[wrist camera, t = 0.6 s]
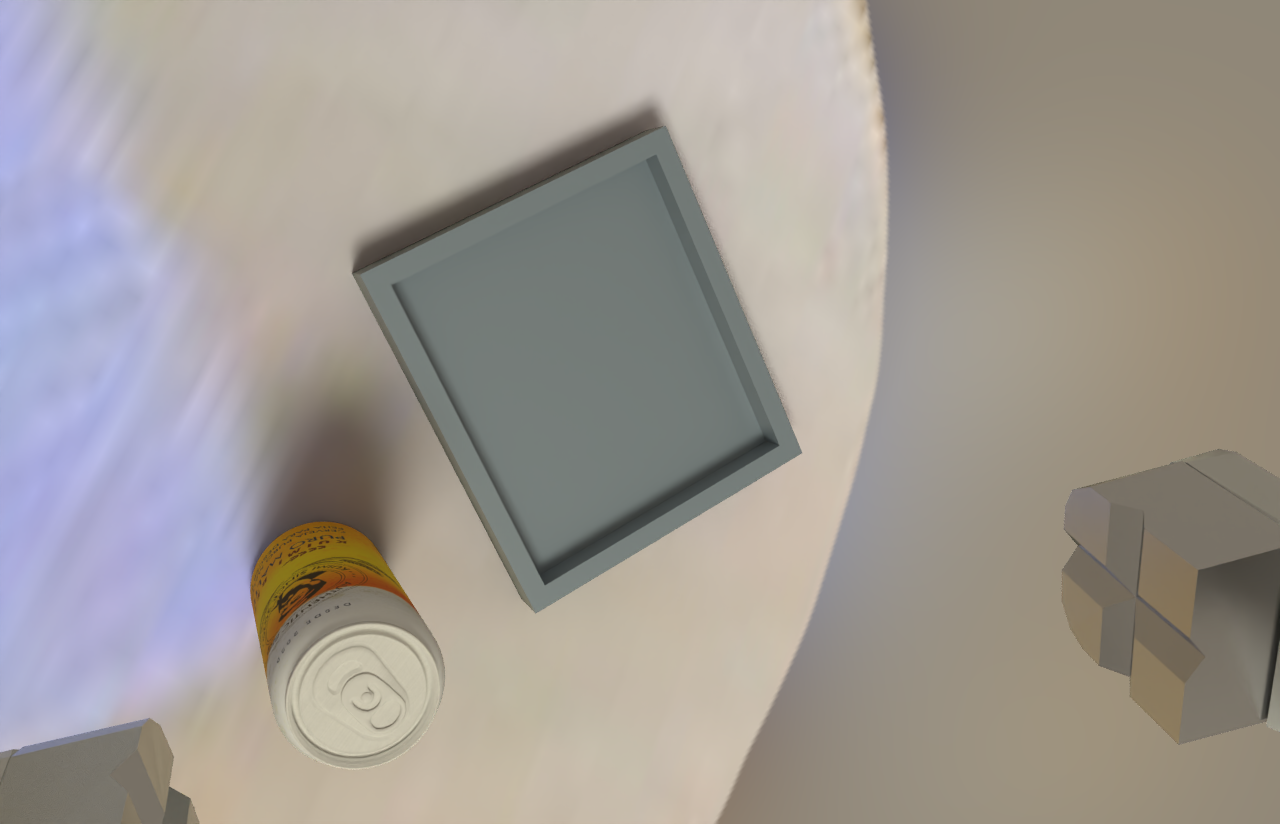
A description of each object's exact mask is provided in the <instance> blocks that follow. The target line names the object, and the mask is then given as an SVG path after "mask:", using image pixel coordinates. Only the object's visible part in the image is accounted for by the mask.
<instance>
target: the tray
mask: <svg viewBox="0 0 1280 824" xmlns="http://www.w3.org/2000/svg"><path fill="white" fill-rule="evenodd" d="M352 274H353V276H354V278H355V280H356V282H357V284H358V286H359V288H360V290H361V291H362V293H363V295H364V297H365V299H366V301H367V303H368V305H369V307H370V309H371V311H372V313H373V315H374V316H375V318H376V320H377V322H378V324H379V326H380V328H381V330H382V332H383V334H384V336H385V338H386V340H387V341H388V343H389V345H390V347H391V349H392V351H393V353H394V355H395V357H396V359H397V361H398V363H399V364H400V366H401V368H402V370H403V372H404V374H405V376H406V378H407V380H408V382H409V384H410V386H411V388H412V389H413V391H414V393H415V395H416V397H417V399H418V401H419V403H420V405H421V407H422V409H423V411H424V412H425V414H426V416H427V418H428V420H429V422H430V424H431V426H432V428H433V430H434V432H435V434H436V436H437V437H438V439H439V441H440V443H441V445H442V447H443V449H444V451H445V453H446V455H447V457H448V459H449V460H450V462H451V464H452V466H453V468H454V470H455V472H456V474H457V476H458V478H459V480H460V482H461V484H462V485H463V487H464V489H465V491H466V493H467V495H468V497H469V499H470V501H471V503H472V505H473V507H474V508H475V510H476V512H477V514H478V516H479V518H480V520H481V522H482V524H483V526H484V528H485V530H486V532H487V533H488V535H489V537H490V539H491V541H492V543H493V545H494V547H495V549H496V551H497V553H498V555H499V557H500V558H501V560H502V562H503V564H504V566H505V568H506V570H507V572H508V574H509V576H510V578H511V580H512V581H513V583H514V585H515V587H516V589H517V591H518V593H519V595H520V597H521V599H522V600H523V601H524V602H525V603H526V604H527V605H528V606H529V607H530V608H531V609H532V610H533V611H534V612H535V613H537V612H539V611H541V610H542V609H544V608H546V607H547V606H549V605H551V604H552V603H554V602H556V601H557V600H559V599H561V598H562V597H564V596H566V595H567V594H569V593H571V592H572V591H574V590H575V589H577V588H579V587H580V586H582V585H584V584H585V583H587V582H589V581H590V580H592V579H594V578H595V577H597V576H599V575H600V574H602V573H604V572H605V571H607V570H609V569H610V568H612V567H614V566H615V565H617V564H619V563H620V562H622V561H624V560H625V559H627V558H629V557H630V556H632V555H634V554H635V553H637V552H639V551H640V550H642V549H644V548H645V547H647V546H649V545H650V544H652V543H654V542H655V541H657V540H659V539H660V538H662V537H664V536H665V535H667V534H669V533H670V532H672V531H673V530H675V529H677V528H678V527H680V526H682V525H683V524H685V523H687V522H688V521H690V520H692V519H693V518H695V517H697V516H698V515H700V514H702V513H703V512H705V511H707V510H708V509H710V508H712V507H713V506H715V505H717V504H718V503H720V502H722V501H723V500H725V499H727V498H728V497H730V496H732V495H733V494H735V493H737V492H738V491H740V490H742V489H743V488H745V487H747V486H748V485H750V484H752V483H753V482H755V481H757V480H758V479H760V478H762V477H763V476H765V475H767V474H768V473H770V472H771V471H773V470H775V469H776V468H778V467H780V466H781V465H783V464H785V463H786V462H788V461H790V460H791V459H793V458H795V457H796V456H798V455H800V454H801V453H802V451H801V449H800V446H799V444H798V442H797V439H796V437H795V434H794V432H793V430H792V427H791V425H790V422H789V420H788V418H787V415H786V413H785V410H784V408H783V406H782V403H781V401H780V398H779V396H778V394H777V391H776V389H775V387H774V384H773V382H772V379H771V377H770V375H769V372H768V370H767V367H766V365H765V363H764V360H763V358H762V355H761V353H760V351H759V348H758V346H757V343H756V341H755V339H754V336H753V334H752V331H751V329H750V327H749V324H748V322H747V320H746V317H745V315H744V312H743V310H742V308H741V305H740V303H739V300H738V298H737V296H736V293H735V291H734V288H733V286H732V284H731V281H730V279H729V276H728V274H727V272H726V269H725V267H724V264H723V262H722V260H721V257H720V255H719V253H718V250H717V248H716V245H715V243H714V241H713V238H712V236H711V233H710V231H709V229H708V226H707V224H706V221H705V219H704V217H703V214H702V212H701V209H700V207H699V205H698V202H697V200H696V197H695V195H694V193H693V190H692V188H691V185H690V183H689V181H688V178H687V176H686V174H685V171H684V169H683V166H682V164H681V162H680V159H679V157H678V154H677V152H676V150H675V147H674V145H673V142H672V140H671V138H670V135H669V133H668V130H667V128H666V126H663V127H659V128H655V129H651V130H647V131H645V132H642V133H640V134H638V135H636V136H634V137H632V138H630V139H628V140H626V141H624V142H622V143H620V144H618V145H616V146H614V147H612V148H610V149H607V150H605V151H603V152H601V153H599V154H597V155H595V156H593V157H591V158H589V159H587V160H585V161H583V162H581V163H579V164H577V165H575V166H572V167H570V168H568V169H566V170H564V171H562V172H560V173H558V174H556V175H554V176H552V177H550V178H548V179H546V180H544V181H542V182H540V183H537V184H535V185H533V186H531V187H529V188H527V189H525V190H523V191H521V192H519V193H517V194H515V195H513V196H511V197H509V198H507V199H505V200H502V201H500V202H498V203H496V204H494V205H492V206H490V207H488V208H486V209H484V210H482V211H480V212H478V213H476V214H474V215H472V216H470V217H467V218H465V219H463V220H461V221H459V222H457V223H455V224H453V225H451V226H449V227H447V228H445V229H443V230H441V231H439V232H437V233H435V234H432V235H430V236H428V237H426V238H424V239H422V240H420V241H418V242H416V243H414V244H412V245H410V246H408V247H406V248H404V249H402V250H400V251H397V252H395V253H393V254H391V255H389V256H387V257H385V258H383V259H381V260H379V261H377V262H375V263H373V264H371V265H369V266H367V267H365V268H362V269H360V270H358V271H356V272H354V273H352Z"/></svg>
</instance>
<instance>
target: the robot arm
mask: <svg viewBox="0 0 1280 824" xmlns="http://www.w3.org/2000/svg"><path fill="white" fill-rule="evenodd" d="M1064 530H1065V531H1066V533H1067V534H1068V535H1069V536H1070V537H1071V538H1072V540H1073V541H1074V542H1075V543H1076V544H1077V545H1078V546H1077V548H1076V549H1075V551H1074V552H1073V554H1072V556H1071V557H1070V559H1069V560H1068V562H1067V563H1066V565H1065V566H1064V568H1063V569H1062V604H1063V607H1064V610H1065V613H1066V617H1067V620H1068V623H1069V626H1070V629H1071V631H1072V632H1073V634H1074V636H1075V637H1076V639H1077V641H1078V642H1079V644H1080V645H1081V647H1082V649H1083V650H1084V651H1085V652H1086V653H1087V654H1088V655H1089V656H1090V657H1091V658H1092V659H1093V660H1094V661H1095V662H1096V663H1097V664H1098V665H1099V666H1101V667H1104V668H1106V669H1109V670H1112V671H1115V672H1118V673H1120V674H1123V675H1126V676H1129V677H1130V697H1131V698H1132V699H1133V700H1134V701H1135V702H1136V703H1137V704H1138V705H1139V706H1140V707H1141V708H1142V709H1143V710H1144V711H1145V712H1146V713H1147V714H1148V715H1149V716H1150V717H1151V718H1152V719H1153V720H1154V721H1155V722H1156V723H1157V724H1158V725H1159V726H1160V727H1161V728H1162V729H1163V730H1164V731H1165V732H1166V733H1167V734H1168V735H1169V736H1170V737H1171V738H1172V739H1173V740H1174V741H1175V742H1176V743H1177V744H1183V743H1187V742H1191V741H1194V740H1198V739H1202V738H1205V737H1209V736H1213V735H1217V734H1221V733H1224V732H1228V731H1232V730H1236V729H1239V728H1243V727H1247V726H1251V725H1255V724H1259V723H1263V722H1266V721H1267V727H1270V728H1272V729H1274V730H1276V731H1278V732H1280V478H1278V477H1277V476H1275V475H1273V474H1272V473H1270V472H1268V471H1267V470H1265V469H1264V468H1262V467H1260V466H1258V465H1257V464H1255V463H1254V462H1252V461H1250V460H1249V459H1247V458H1245V457H1244V456H1242V455H1241V454H1239V453H1237V452H1234V451H1228V450H1222V449H1217V450H1213V451H1210V452H1206V453H1203V454H1199V455H1196V456H1193V457H1189V458H1185V459H1182V460H1178V461H1175V462H1171V463H1170V464H1169V465H1165V466H1162V467H1158V468H1154V469H1150V470H1146V471H1143V472H1139V473H1135V474H1131V475H1127V476H1123V477H1119V478H1116V479H1112V480H1108V481H1104V482H1100V483H1096V484H1093V485H1089V486H1085V487H1081V488H1077V489H1074V490H1072V492H1071V494H1070V497H1069V499H1068V501H1067V504H1066V507H1065V520H1064ZM173 760H174V756H173V753H172V751H171V749H170V747H169V744H168V742H167V740H166V737H165V735H164V733H163V731H162V728H161V726H160V725H159V724H158V723H156V722H155V721H153V720H152V719H150V718H148V719H144V720H139V721H135V722H131V723H126V724H122V725H118V726H113V727H109V728H104V729H100V730H96V731H91V732H87V733H82V734H78V735H74V736H69V737H65V738H61V739H56V740H52V741H47V742H43V743H39V744H34V745H30V746H25V747H22V748H21V749H20V750H14V749H12V750H8V751H4V752H0V824H200V823H199V820H198V817H197V815H196V812H195V809H194V807H193V804H192V801H191V799H190V798H189V797H187V796H185V795H183V794H182V793H180V792H178V791H176V790H174V789H173V788H171V787H169V784H170V778H171V772H172V766H173Z"/></svg>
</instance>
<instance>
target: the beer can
mask: <svg viewBox="0 0 1280 824" xmlns="http://www.w3.org/2000/svg"><path fill="white" fill-rule="evenodd" d="M250 593H251V601H252V607H253V612H254V617H255V622H256V627H257V632H258V637H259V642H260V648H261V653H262V658H263V663H264V668H265V673H266V678H267V684H268V689H269V694H270V699H271V704H272V709H273V714H274V717H275V719H276V722H277V724H278V726H279V728H280V730H281V732H282V733H283V735H284V736H285V738H286V739H287V740H288V741H289V742H290V744H291V745H292V746H293V747H295V748H296V749H297V750H298V751H299V752H301V753H302V754H304V755H305V756H307V757H309V758H311V759H313V760H315V761H317V762H320V763H323V764H326V765H330V766H333V767H337V768H341V769H351V770H354V769H367V768H372V767H376V766H380V765H383V764H385V763H388V762H390V761H392V760H394V759H396V758H398V757H399V756H401V755H403V754H404V753H405V752H407V751H408V750H409V749H411V748H412V747H413V746H414V745H415V744H416V743H417V742H418V741H419V740H420V739H421V737H422V736H423V735H424V734H425V732H426V731H427V729H428V728H429V726H430V724H431V723H432V721H433V718H434V716H435V714H436V712H437V709H438V707H439V705H440V702H441V699H442V695H443V690H444V683H445V667H444V662H443V657H442V654H441V650H440V648H439V646H438V644H437V641H436V640H435V638H434V637H433V635H432V633H431V632H430V630H429V629H428V627H427V626H426V624H425V622H424V621H423V619H422V618H421V616H420V615H419V613H418V612H417V610H416V609H415V607H414V605H413V604H412V602H411V601H410V599H409V598H408V596H407V595H406V593H405V592H404V590H403V588H402V587H401V585H400V584H399V582H398V581H397V579H396V578H395V576H394V575H393V573H392V571H391V570H390V568H389V567H388V565H387V564H386V562H385V561H384V559H383V557H382V556H381V554H380V553H379V551H378V550H377V548H376V547H375V546H374V544H373V543H372V542H371V541H370V540H369V539H368V538H367V537H366V536H365V535H363V534H362V533H361V532H359V531H357V530H355V529H354V528H351V527H349V526H347V525H343V524H340V523H335V522H324V521H323V522H312V523H307V524H303V525H300V526H297V527H294V528H292V529H290V530H288V531H286V532H285V533H283V534H282V535H280V536H279V537H277V538H276V539H275V540H274V541H273V542H272V543H271V544H270V545H269V546H268V547H267V548H266V549H265V551H264V552H263V553H262V555H261V556H260V558H259V560H258V561H257V564H256V566H255V568H254V571H253V575H252V579H251V589H250Z"/></svg>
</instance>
